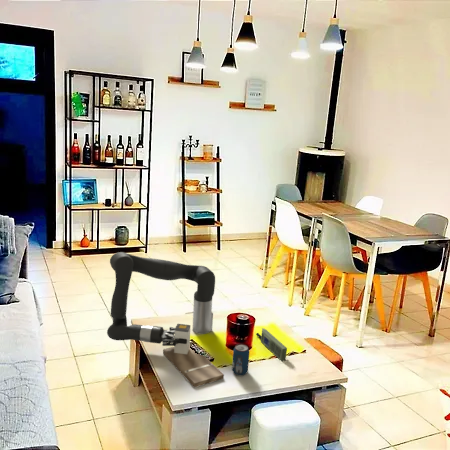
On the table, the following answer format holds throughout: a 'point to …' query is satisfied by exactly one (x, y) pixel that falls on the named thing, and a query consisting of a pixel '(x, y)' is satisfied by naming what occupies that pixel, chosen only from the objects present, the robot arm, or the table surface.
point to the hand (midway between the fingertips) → (187, 338)
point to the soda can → (240, 359)
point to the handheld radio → (273, 344)
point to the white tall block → (183, 333)
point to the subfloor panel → (194, 367)
